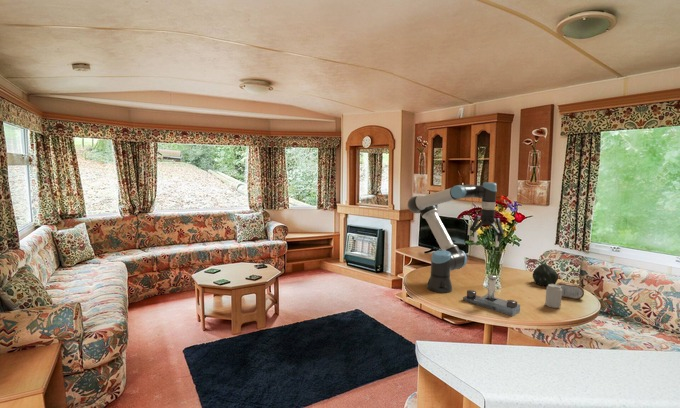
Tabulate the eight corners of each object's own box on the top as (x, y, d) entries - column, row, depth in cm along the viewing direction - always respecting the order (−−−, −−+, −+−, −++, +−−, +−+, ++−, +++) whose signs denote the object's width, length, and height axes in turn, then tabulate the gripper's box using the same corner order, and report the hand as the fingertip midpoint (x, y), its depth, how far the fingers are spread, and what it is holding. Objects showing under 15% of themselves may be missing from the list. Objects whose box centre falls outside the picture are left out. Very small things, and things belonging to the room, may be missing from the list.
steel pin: (484, 305, 204) (486, 275, 202) (488, 303, 207) (490, 274, 205) (492, 308, 200) (494, 277, 198) (496, 306, 203) (498, 276, 201)
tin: (583, 299, 218) (584, 285, 217) (583, 300, 215) (585, 286, 214) (554, 294, 225) (555, 280, 225) (553, 295, 223) (555, 282, 222)
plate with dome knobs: (463, 300, 211) (463, 290, 210) (471, 297, 217) (471, 287, 216) (512, 316, 190) (513, 305, 189) (519, 312, 196) (520, 301, 195)
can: (552, 309, 201) (554, 288, 200) (541, 304, 208) (543, 283, 207) (563, 308, 203) (565, 287, 202) (552, 303, 210) (554, 282, 209)
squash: (560, 275, 247) (544, 257, 249) (564, 282, 233) (548, 263, 235) (541, 286, 252) (526, 269, 254) (544, 294, 238) (528, 275, 240)
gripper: (465, 207, 223) (463, 241, 225) (506, 211, 204) (503, 249, 206) (472, 206, 228) (469, 240, 230) (512, 210, 209) (509, 247, 211)
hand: (485, 244), depth 218 cm, fingers open, 13 cm apart
